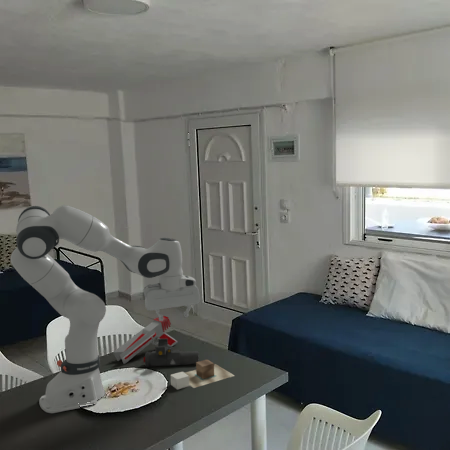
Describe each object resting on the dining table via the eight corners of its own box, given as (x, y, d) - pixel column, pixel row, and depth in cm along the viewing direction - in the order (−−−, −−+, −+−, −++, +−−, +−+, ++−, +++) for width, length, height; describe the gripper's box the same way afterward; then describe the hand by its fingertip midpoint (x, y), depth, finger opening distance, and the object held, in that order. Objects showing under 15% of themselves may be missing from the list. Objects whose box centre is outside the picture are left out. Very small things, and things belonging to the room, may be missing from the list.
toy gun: (124, 378, 222) (111, 350, 217) (172, 339, 238) (160, 312, 233) (133, 382, 217) (120, 354, 212) (181, 342, 233) (170, 315, 228)
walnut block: (203, 379, 195) (202, 366, 194) (196, 374, 199) (196, 362, 198) (214, 375, 198) (213, 363, 197) (207, 371, 202) (207, 359, 201)
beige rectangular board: (194, 390, 188) (193, 387, 188) (176, 377, 199) (176, 375, 199) (235, 378, 197) (234, 375, 197) (215, 366, 209) (215, 364, 209)
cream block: (177, 392, 187) (176, 379, 186) (171, 387, 191) (170, 374, 190) (189, 388, 190) (188, 375, 189) (183, 384, 194) (182, 371, 193)
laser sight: (198, 370, 207) (197, 346, 205) (142, 371, 207) (141, 347, 205) (199, 360, 216) (198, 337, 215) (146, 362, 216) (144, 339, 215)
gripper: (144, 287, 182) (147, 325, 183) (200, 280, 188) (202, 316, 190) (141, 283, 188) (144, 320, 189) (195, 276, 194) (197, 312, 196)
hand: (173, 318), depth 190 cm, fingers open, 8 cm apart
